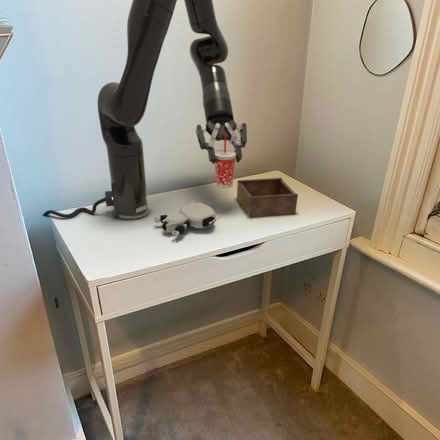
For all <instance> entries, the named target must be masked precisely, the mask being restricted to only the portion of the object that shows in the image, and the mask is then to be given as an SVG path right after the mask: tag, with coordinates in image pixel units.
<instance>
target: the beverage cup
mask: <svg viewBox="0 0 440 440" xmlns="http://www.w3.org/2000/svg"><path fill="white" fill-rule="evenodd" d="M214 151H215V150H214ZM215 158H216V162H215V164H214V171H215V174H214V175H215V186H216V188H218V189H223V190H224V189H225V190H226V189H231V188H232V187H233V185H234V184H233V183H234V174H235V165H236V163H235V162H236V152H235V151H234V150H231V149H227V140H226V134H225V136H224V140H223V149H218V150H216V151H215Z"/></svg>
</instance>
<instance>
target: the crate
mask: <svg viewBox="0 0 440 440" xmlns="http://www.w3.org/2000/svg"><path fill="white" fill-rule="evenodd" d="M236 185H237V186H236V187H237V188H236V199H237V202H238V203H239V204H240V206H241V207H242V209H243V210H244V212H245V213H246V215H247V216H248V217H249V218H260V217H261V218H263V217H271V216H272V217H273V216H285V215H296V213H297V204H298V197H299V194H298V193H296V192H295V191H294V190H293V189H292V188H291V187H290V186H289V185H288V184H287V183H286V181H284V180H283V178H282V177H271V178H269V177H268V178H254V179H253V178H251V179H238V180H237V184H236Z"/></svg>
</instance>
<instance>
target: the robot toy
mask: <svg viewBox="0 0 440 440" xmlns="http://www.w3.org/2000/svg"><path fill="white" fill-rule="evenodd" d="M197 201H198V200H197V199H195V200H193V201H192V202H191V203H190V202H189V203H188V204H187V203H186V204H184V205H182V206H181V207H180V209H179V212H176V213H172V214H161V215H159V217H158V216H157V217H154V218H153V220H154V221H153V222H154V223H160V224H162V225H161V229H162V230H163V231H166V233H171V235H172V236H175V237H179V236H181V235H183V234H184V233H185V230H186V229H188V228H190V227H191V228H194V229H206V228H209V227H210V226H212V225H214V224H215V223H216V222H217V220H218V219H221V218H222V216H223V215H221V214H220V215H218V217H216V215H217V214H216V211H215V210H214V209H213V208H212V207H211V206H209V205H207V204H205V203H201V202H197Z"/></svg>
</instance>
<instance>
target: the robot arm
mask: <svg viewBox="0 0 440 440" xmlns="http://www.w3.org/2000/svg"><path fill="white" fill-rule="evenodd" d="M177 2H178V0H132V2H131V6H130V9H129V12H128V17H127V21H126V22H127V23H126V40H127V41H126V43H127V55H126V62H125V65H124V70H123V72H122V74H121V77H120V81H119V82H117V81H116V82H115V81H111V82H108V83H105V84H104V85H103V86H102V87H101V88H100V90H99V92H98V95H97V114H98V120H99V125H100V131H101V136H102V139H103V143H104V144H105V146H106V153H107V163H108V169H109V178H110V187H111V190H105V191H104V196H105V197H103V198H101V199H98V200H97V201H96V202H94V203H93V205H92V208H91V209H89V208H87V207H78V208H77V209H75V210H74V211H73V212H70V213H61V212H59V211H56V210H52V209H49V210H46V211H44V212H43V214H42V217H47V216H49V215H54V216H57V217H60V218H63V219H67V218H68V219H69V218H73V217H75V216H76V215H78V213H81V212H86V213H87V214H90V215H93V214H95V213H96V211H97V207H98V206H99V205H100V204H102V203H104V202H105V206H106V207H113V213H114V218H115V219H122V220H138V219H141V218H144V217H146V216H147V215H148V214H149V207H148V206H149V205H148V196H147V182H146V180H147V179H146V169H145V156H144V155H145V153H144V145H143V143H144V142H143V140H142V138H141V137H140V136H139V134H138V132H137V130H136V126H137V125H138V124H139V123H140V122H141V121H142V120H143V118H144V115H145V112H146V109H147V106H148V102H149V101H148V100H149V97H150V92H151V89H152V88H151V87H152V82H153V79H154V75H155V72H156V71H155V70H156V67H157V64H158V61H159V58H160V55H161V53H162V49H163V45H164V42H165V39H166V36H167V34H168V31H169V28H170V25H171V21H172V19H173V15H174V12H175V8H176V4H177ZM183 2H184V6H185V10H186V14H187V18H188V24H189V27H190V29H191V31H192V32H193V33H195V34H198V35H199V34H200V35H208V36H203V37H199V38H195V39H194V40H193V41H192V42H191V43H190V45H189V55H190V58H191V61H192V63H193V64H194V67H195V68H196V71H197V72H198V76H199V80H200V84H201V85H200V86H201V91H202V106H203V110H204V111H203V112H204V117H205V125H201V124H197V125H196V127H195V135H196V138H197V141H198V144H199V148H200V150H202V151H203V150H206V151H207V155H208V161H209V162H210V163H211V164H212V165H215V162H216V158H215V147H214V144H215V142H220V141H224V136H225V134H226V141H227V142H229V144H230V145H231V146H232V148H234V150H233V151H234V152H236V158H235V162H236V163H240V162H241V161H242V158H243V152H242V148H244V149H245V148H246V144H247V142H248V131H247V129H248V128H247V123H246V122H243V123H241V124H238V123H237V122H236V121H235V120H234V119H235V118H234V112H233V107H232V105H233V104H232V99H231V94H230V91H229V87H228V82H227V81H228V80H227V75H226V72H225V69H224V67H223V66H221V65H218V64H221V63H225V62H226V60H227V59H228V56H229V47H228V43H227V41H226V38H225V37H224V35H223V33H222V30H221V29H220V26H219V24H218V21H217V17H216V12H215V7H214V1H213V0H183ZM236 130H237V132H238V134H240V135H239V136H240V137H239V138H240V139H239V138H238V135H237V134H236V132H235V131H236ZM205 132H206V133H208V135H209V136H210V139H209V142H206V138H205ZM53 301H54V304H55V305H54V306H55V308H56V309H60V304H59V298H58V297H53Z"/></svg>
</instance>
